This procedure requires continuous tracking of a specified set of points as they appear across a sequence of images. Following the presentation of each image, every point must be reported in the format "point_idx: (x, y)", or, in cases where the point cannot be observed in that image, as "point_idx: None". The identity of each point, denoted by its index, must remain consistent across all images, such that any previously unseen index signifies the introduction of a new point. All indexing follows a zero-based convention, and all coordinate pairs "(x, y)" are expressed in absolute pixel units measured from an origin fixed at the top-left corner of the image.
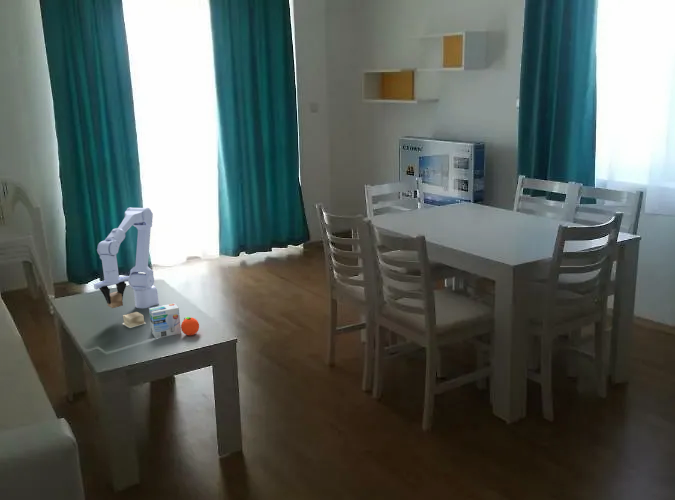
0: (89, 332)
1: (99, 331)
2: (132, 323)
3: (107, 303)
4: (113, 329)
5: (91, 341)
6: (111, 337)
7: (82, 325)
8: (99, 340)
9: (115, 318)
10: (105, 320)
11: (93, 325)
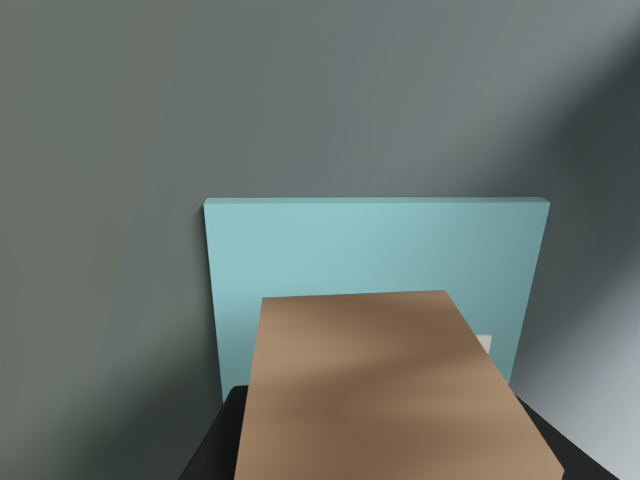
0: (50, 279)
1: (134, 316)
2: None
3: (258, 327)
4: None
5: (32, 452)
6: (176, 472)
7: (12, 17)
8: (88, 468)
9: (385, 91)
10: (279, 66)
11: (124, 122)
